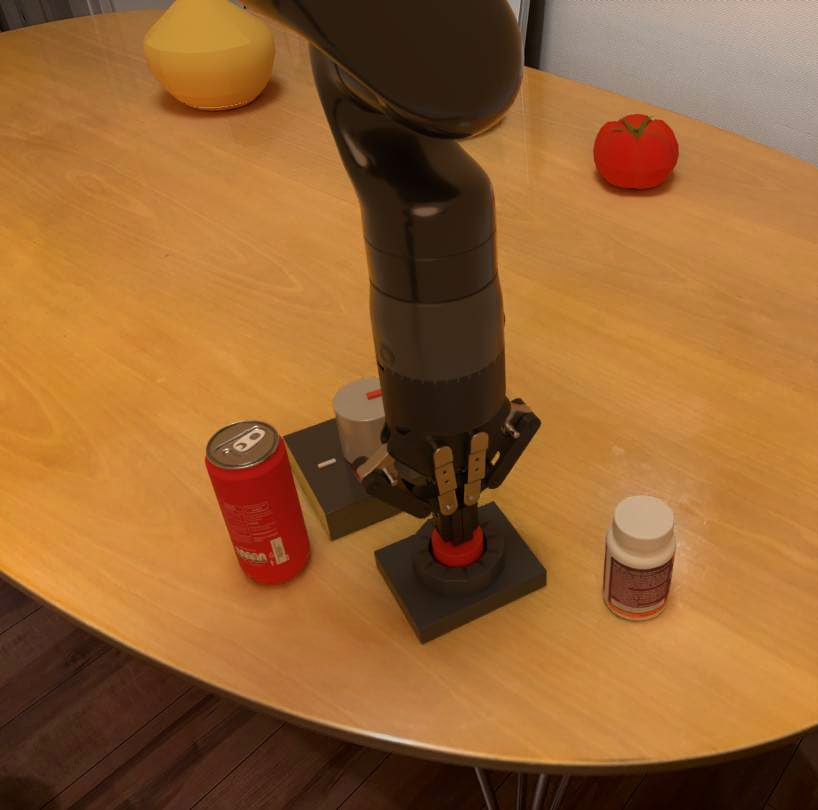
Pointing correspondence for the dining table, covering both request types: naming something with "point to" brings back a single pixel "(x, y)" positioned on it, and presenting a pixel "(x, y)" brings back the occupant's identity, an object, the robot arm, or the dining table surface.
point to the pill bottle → (639, 558)
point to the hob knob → (359, 417)
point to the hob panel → (336, 480)
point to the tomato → (635, 151)
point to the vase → (210, 54)
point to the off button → (458, 550)
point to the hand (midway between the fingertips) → (456, 535)
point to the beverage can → (258, 500)
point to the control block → (459, 576)
